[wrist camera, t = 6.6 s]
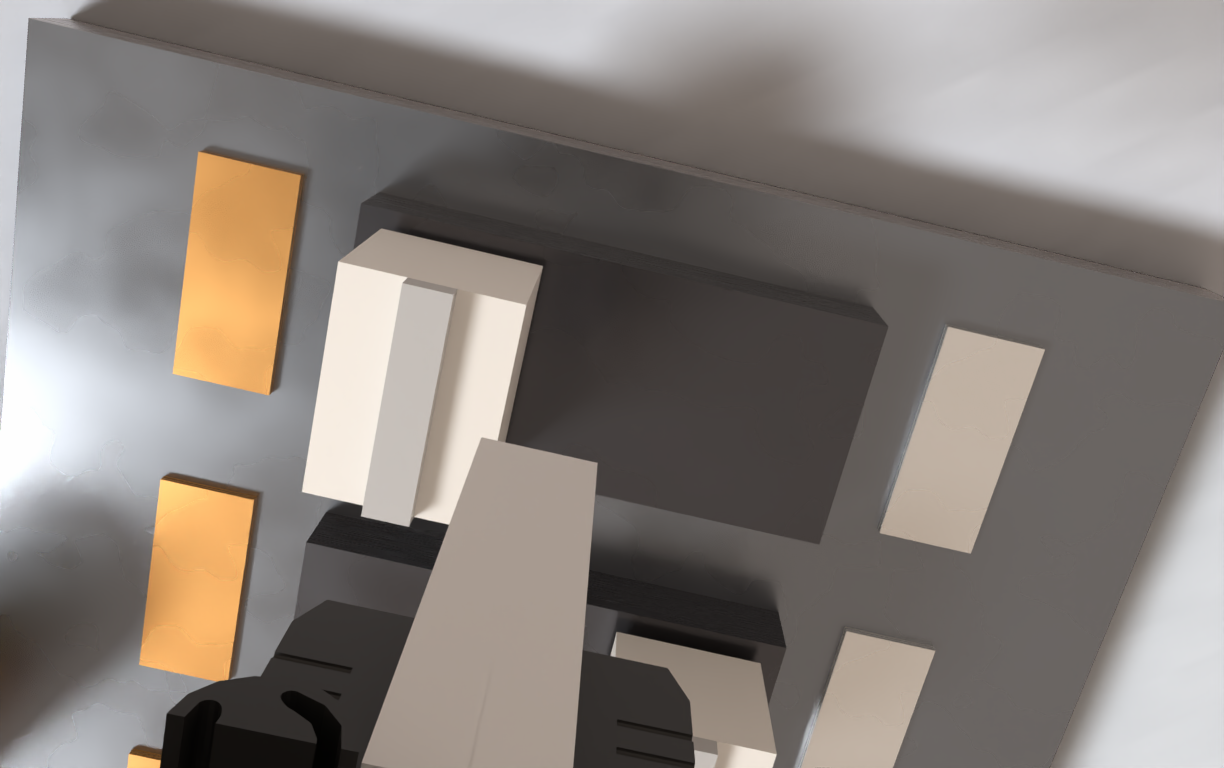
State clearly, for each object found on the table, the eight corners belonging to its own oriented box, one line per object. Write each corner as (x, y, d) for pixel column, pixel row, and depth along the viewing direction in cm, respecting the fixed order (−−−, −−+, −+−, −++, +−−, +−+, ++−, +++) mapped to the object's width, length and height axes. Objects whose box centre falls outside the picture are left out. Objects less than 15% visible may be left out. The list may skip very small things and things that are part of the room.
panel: (0, 886, 29) (-70, 979, 26) (67, 18, 23) (-16, 17, 20) (891, 1068, 30) (916, 1177, 27) (1205, 289, 24) (1281, 325, 21)
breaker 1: (347, 430, 22) (294, 501, 18) (381, 228, 20) (331, 266, 17) (500, 464, 22) (474, 541, 19) (542, 265, 21) (524, 311, 17)
